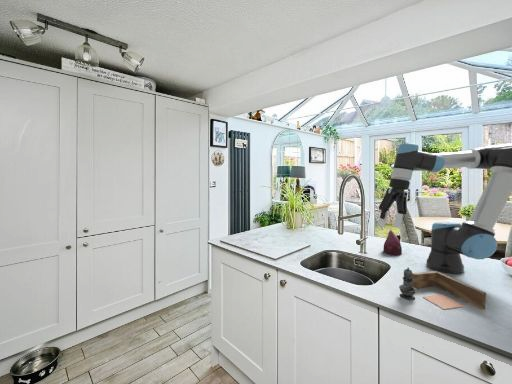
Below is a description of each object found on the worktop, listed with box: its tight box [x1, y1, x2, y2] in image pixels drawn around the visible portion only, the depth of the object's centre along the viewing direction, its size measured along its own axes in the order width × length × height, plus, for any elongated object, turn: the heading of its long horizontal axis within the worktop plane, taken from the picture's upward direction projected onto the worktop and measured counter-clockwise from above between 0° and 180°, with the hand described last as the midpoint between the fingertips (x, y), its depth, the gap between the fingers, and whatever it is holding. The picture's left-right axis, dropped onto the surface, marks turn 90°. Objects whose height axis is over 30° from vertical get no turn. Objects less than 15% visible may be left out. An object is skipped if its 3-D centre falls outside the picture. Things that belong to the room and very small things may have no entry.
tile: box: [422, 293, 466, 311], centre depth 94 cm, size 9×9×1 cm
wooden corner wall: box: [412, 270, 487, 310], centre depth 97 cm, size 12×20×6 cm, turn 9°
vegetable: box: [382, 229, 403, 256], centre depth 151 cm, size 10×10×15 cm
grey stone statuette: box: [398, 267, 417, 301], centre depth 98 cm, size 6×6×12 cm
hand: (389, 227), depth 110 cm, fingers open, 13 cm apart
